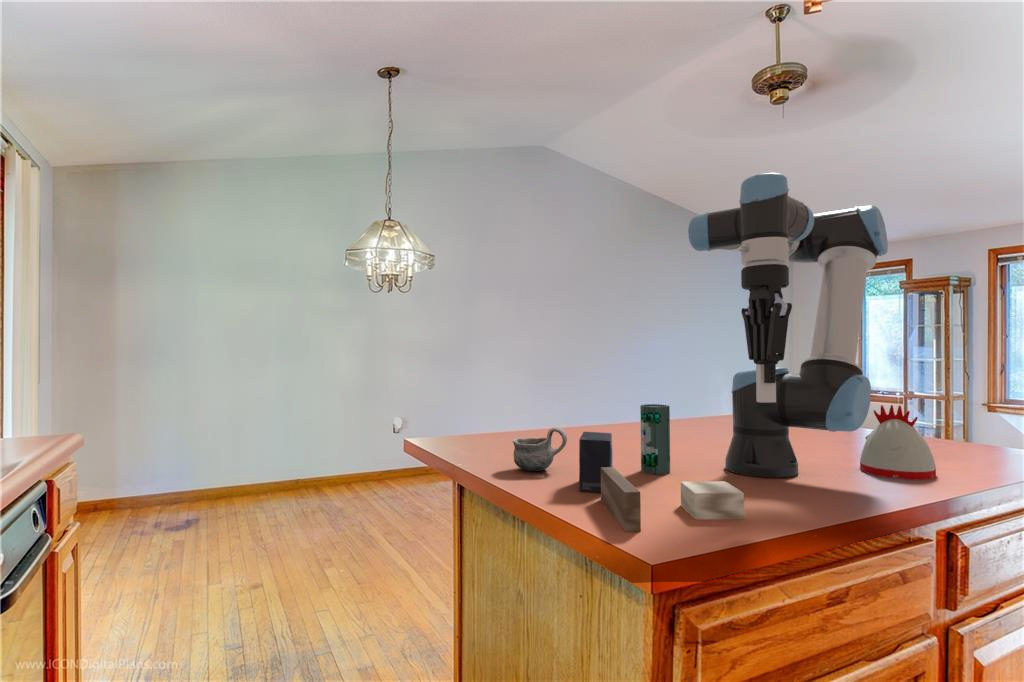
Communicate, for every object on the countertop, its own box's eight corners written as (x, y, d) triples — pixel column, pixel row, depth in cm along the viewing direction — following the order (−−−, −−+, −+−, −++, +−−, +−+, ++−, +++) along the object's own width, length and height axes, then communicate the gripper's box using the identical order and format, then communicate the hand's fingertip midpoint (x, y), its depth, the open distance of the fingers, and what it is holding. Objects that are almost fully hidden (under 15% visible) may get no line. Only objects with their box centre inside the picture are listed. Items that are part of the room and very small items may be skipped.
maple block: (725, 506, 99) (725, 481, 100) (744, 520, 91) (743, 493, 92) (680, 506, 100) (680, 481, 100) (695, 520, 92) (695, 493, 92)
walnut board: (613, 499, 104) (613, 467, 104) (640, 531, 86) (640, 492, 86) (600, 499, 104) (600, 467, 104) (625, 531, 86) (624, 492, 86)
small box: (612, 494, 108) (611, 439, 108) (578, 492, 109) (577, 438, 109) (613, 481, 118) (612, 431, 118) (582, 479, 120) (581, 431, 120)
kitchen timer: (868, 463, 134) (867, 401, 134) (940, 471, 124) (938, 404, 124) (853, 473, 124) (852, 405, 124) (930, 483, 114) (928, 410, 114)
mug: (513, 465, 134) (513, 424, 134) (565, 465, 134) (565, 423, 134) (512, 475, 125) (511, 430, 125) (568, 474, 124) (568, 429, 124)
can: (638, 469, 129) (637, 404, 129) (663, 468, 130) (662, 404, 130) (647, 475, 123) (646, 407, 123) (673, 474, 124) (673, 406, 124)
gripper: (727, 271, 103) (728, 398, 102) (762, 259, 90) (763, 406, 89) (766, 271, 103) (768, 398, 103) (807, 259, 90) (809, 405, 90)
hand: (766, 401), depth 96 cm, fingers closed
